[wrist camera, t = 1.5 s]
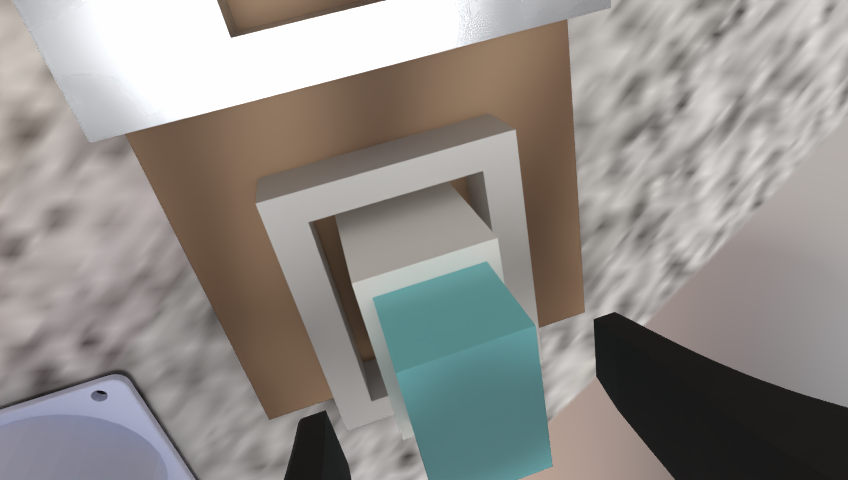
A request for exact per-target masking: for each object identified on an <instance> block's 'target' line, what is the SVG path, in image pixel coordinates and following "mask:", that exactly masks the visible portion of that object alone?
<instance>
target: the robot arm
mask: <svg viewBox="0 0 848 480" xmlns="http://www.w3.org/2000/svg"><path fill="white" fill-rule="evenodd" d="M594 336H595V357H596V376H597V378H598V380H599V381H600V383H601V384H602V386H603V388H604V389H605V391H606V392H607V394H608V396H609V397H610V399H611V400H612V402H613V403H614V405H615V406H616V408H617V409H618V411H619V412H620V413H621V414H622V416H623V417H624V418H625V419H626V421H627V422H628V423H629V424H630V425H631V427H632V428H633V429H634V430H635V432H636V433H637V434H638V435H639V436H640V438H641V439H642V440H643V441H644V442H645V444H646V445H647V446H648V447H649V449H650V450H651V451H652V452H653V453H654V455H655V456H656V457H657V458H658V459H659V461H660V462H661V463H662V464H663V466H664V467H665V468H666V469H667V470H668V472H669V473H670V474H671V475H672V476H673V478H674V479H675V480H848V408H847V407H843V406H840V405H836V404H833V403H830V402H826V401H823V400H820V399H816V398H812V397H809V396H806V395H803V394H800V393H797V392H794V391H791V390H788V389H784V388H782V387H779V386H776V385H774V384H771V383H768V382H765V381H762V380H760V379H757V378H754V377H752V376H749V375H746V374H744V373H741V372H739V371H737V370H734V369H732V368H730V367H727V366H725V365H722V364H720V363H718V362H715V361H713V360H711V359H709V358H707V357H704V356H702V355H700V354H698V353H695V352H694V351H691V350H689V349H687V348H685V347H683V346H681V345H679V344H677V343H675V342H673V341H671V340H669V339H667V338H665V337H663V336H661V335H659V334H657V333H655V332H653V331H651V330H649V329H647V328H645V327H643V326H641V325H640V324H638V323H636V322H634V321H632V320H630V319H628V318H626V317H624V316H622V315H620V314H618V313H616V312H613V313H610V314H607V315H605V316H602V317H599V318H596V319H594ZM97 390H101V391H104V392H106V393H107V394H99V393H97V392H96V391H97ZM0 480H196V479H195V478H194V476H193V475H192V473H191V472H190V470H189V469H188V467H187V466H186V464H185V463H184V461H183V460H182V458H181V457H180V455H179V454H178V452H177V451H176V449H175V448H174V446H173V445H172V443H171V442H170V440H169V439H168V437H167V436H166V434H165V433H164V431H163V430H162V428H161V427H160V425H159V423H158V422H157V420H156V419H155V417H154V416H153V414H152V413H151V411H150V410H149V408H148V407H147V405H146V404H145V402H144V401H143V399H142V398H141V396H140V395H139V393H138V392H137V390H136V389H135V387H134V386H133V384H132V383H131V381H130V380H129V379H128V378H127V377H125V376H123V375H119V374H113V375H108V376H105V377H102V378H99V379H95V380H92V381H89V382H86V383H83V384H80V385H77V386H73V387H70V388H67V389H64V390H61V391H58V392H54V393H51V394H48V395H45V396H42V397H39V398H36V399H32V400H29V401H26V402H23V403H20V404H17V405H13V406H10V407H7V408H4V409H1V410H0ZM284 480H351V475H350V470H349V465H348V462H347V460H346V458H345V455H344V453H343V451H342V448H341V446H340V443H339V441H338V439H337V436H336V434H335V432H334V429H333V427H332V424H331V422H330V420H329V417H328V415H327V413H326V410H325V411H322V412H319V413H316V414H314V415H311V416H308V417H305V418H302V419H301V420H300V421H299V423H298V427H297V432H296V436H295V441H294V445H293V449H292V453H291V457H290V460H289V464H288V467H287V471H286V474H285V477H284Z"/></svg>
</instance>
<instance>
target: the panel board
mask: <svg viewBox="0 0 848 480" xmlns="http://www.w3.org/2000/svg"><path fill="white" fill-rule="evenodd" d="M359 1H363V0H227V2H228V5H229V7H230V10H231V13H232V16H233V19H234V21H235V24H236V27H237V30H238V31H239V30H243V29H247V28H251V27H255V26H259V25H263V24H268V23H272V22H276V21H280V20H284V19H288V18H292V17H297V16H301V15H305V14H309V13H313V12H317V11H322V10H326V9H330V8H334V7H338V6H342V5H346V4H351V3H355V2H359ZM486 114H491V115H492V116H494V117H496V118H497V119H499V120H501V121H503V122H504V123H506V124H508V125H509V126H511V127H513V128H514V129H516V137H517V145H518V154H519V162H520V171H521V180H522V188H523V197H524V205H525V214H526V222H527V231H528V239H529V248H530V256H531V265H532V274H533V282H534V291H535V299H536V308H537V316H538V325H539V328H540V327H543V326H546V325H549V324H552V323H555V322H557V321H560V320H563V319H566V318H569V317H572V316H575V315H578V314H581V313H584V312H585V309H584V292H583V275H582V258H581V242H580V225H579V208H578V191H577V174H576V158H575V141H574V124H573V107H572V90H571V74H570V57H569V40H568V23H567V19H565V20H562V21H558V22H554V23H550V24H546V25H542V26H538V27H535V28H531V29H527V30H523V31H519V32H515V33H511V34H508V35H504V36H500V37H496V38H492V39H488V40H484V41H481V42H477V43H473V44H469V45H465V46H461V47H458V48H454V49H450V50H446V51H442V52H438V53H434V54H431V55H427V56H423V57H419V58H415V59H411V60H407V61H404V62H400V63H396V64H392V65H388V66H384V67H381V68H377V69H373V70H369V71H365V72H361V73H357V74H354V75H350V76H346V77H342V78H338V79H334V80H330V81H327V82H323V83H319V84H315V85H311V86H307V87H304V88H300V89H296V90H292V91H288V92H284V93H280V94H277V95H273V96H269V97H265V98H261V99H257V100H253V101H250V102H246V103H242V104H238V105H234V106H230V107H226V108H223V109H219V110H215V111H211V112H207V113H203V114H200V115H196V116H192V117H188V118H184V119H180V120H176V121H173V122H169V123H165V124H161V125H157V126H153V127H149V128H146V129H142V130H138V131H134V132H130V133H126V134H125V135H126V137H127V139H128V141H129V143H130V145H131V147H132V149H133V151H134V153H135V155H136V157H137V159H138V160H139V162H140V164H141V166H142V168H143V170H144V172H145V174H146V176H147V178H148V180H149V182H150V184H151V186H152V188H153V190H154V192H155V194H156V196H157V198H158V200H159V202H160V204H161V206H162V208H163V210H164V212H165V214H166V216H167V218H168V220H169V222H170V224H171V226H172V228H173V230H174V232H175V234H176V236H177V238H178V240H179V242H180V244H181V246H182V248H183V250H184V252H185V254H186V256H187V258H188V260H189V262H190V264H191V266H192V268H193V270H194V271H195V273H196V275H197V277H198V279H199V281H200V283H201V285H202V287H203V289H204V291H205V293H206V295H207V297H208V299H209V301H210V303H211V305H212V307H213V309H214V311H215V313H216V315H217V317H218V319H219V321H220V323H221V325H222V327H223V329H224V331H225V333H226V335H227V337H228V339H229V341H230V343H231V345H232V347H233V349H234V351H235V353H236V355H237V357H238V359H239V361H240V363H241V365H242V367H243V369H244V371H245V373H246V375H247V377H248V379H249V381H250V382H251V384H252V386H253V388H254V390H255V392H256V394H257V396H258V398H259V400H260V402H261V404H262V406H263V408H264V410H265V412H266V414H267V416H268V418H269V420H270V419H273V418H276V417H279V416H282V415H285V414H288V413H291V412H294V411H297V410H300V409H302V408H305V407H308V406H311V405H314V404H317V403H320V402H323V401H326V400H329V399H332V398H334V397H333V395H332V392H331V390H330V387H329V385H328V382H327V380H326V377H325V375H324V372H323V370H322V367H321V365H320V363H319V360H318V358H317V355H316V353H315V350H314V348H313V345H312V343H311V340H310V338H309V335H308V333H307V330H306V328H305V325H304V323H303V320H302V318H301V315H300V313H299V310H298V308H297V305H296V303H295V300H294V298H293V296H292V293H291V291H290V288H289V286H288V283H287V281H286V278H285V276H284V273H283V271H282V268H281V266H280V263H279V261H278V258H277V256H276V253H275V251H274V248H273V246H272V243H271V241H270V238H269V236H268V234H267V231H266V229H265V226H264V224H263V221H262V219H261V216H260V214H259V211H258V209H257V206H256V204H255V203H256V194H257V185H258V178H261V177H264V176H268V175H271V174H275V173H279V172H282V171H286V170H289V169H293V168H296V167H300V166H304V165H307V164H311V163H314V162H318V161H322V160H325V159H329V158H332V157H336V156H339V155H343V154H347V153H350V152H354V151H357V150H361V149H364V148H368V147H372V146H375V145H379V144H382V143H386V142H389V141H393V140H397V139H400V138H404V137H407V136H411V135H415V134H418V133H422V132H425V131H429V130H432V129H436V128H440V127H443V126H447V125H450V124H454V123H457V122H461V121H465V120H468V119H472V118H475V117H479V116H483V115H486ZM448 182H449V183H450V184H451V185H452V186H453V187H454V189H455V190H456V191H457V192H458V193H459V194H460V195H461V197H462V198H463V199H464V200H465V201H466V202H467V203H468V205H469V206H470V201H469V195H468V189H467V183H466V178H465V176H464V177H461V178H457V179H454V180H450V181H448ZM470 207H471V206H470ZM314 224H315V227H316V229H317V232H318V235H319V238H320V241H321V244H322V247H323V250H324V252H325V255H326V258H327V261H328V264H329V267H330V270H331V273H332V275H333V278H334V281H335V284H336V287H337V290H338V293H339V296H340V298H341V301H342V304H343V307H344V310H345V313H346V316H347V319H348V321H349V324H350V327H351V330H352V333H353V336H354V339H355V342H356V344H357V347H358V350H359V353H360V356H361V359H362V362H363V363H364V362H367V361H370V360H373V359H376V356H375V353H374V350H373V347H372V344H371V341H370V338H369V335H368V332H367V329H366V326H365V323H364V320H363V317H362V314H361V311H360V308H359V305H358V302H357V299H356V296H355V292H354V289H353V286H352V283H351V279H350V275H349V271H348V267H347V263H346V259H345V255H344V251H343V247H342V243H341V239H340V235H339V231H338V227H337V223H336V218H335V215H332V216H328V217H325V218H321V219H318V220H315V221H314Z"/></svg>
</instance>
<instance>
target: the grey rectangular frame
mask: <svg viewBox="0 0 848 480" xmlns="http://www.w3.org/2000/svg"><path fill="white" fill-rule="evenodd" d="M464 176H465V178H466V183H467V189H468V195H469V201H470V206H471V208H472V209H473V210H474V211H475V213H476V214H477V215H478V216H479V217H480V218H481V219H482V221H483V222H484V223H485V224H486V225H487V226H488V227H489V229H490V230H491V231H492V232H493V233H494V234H495V235H496V237H497V238H498V243H499V250H500V257H501V263H502V270H503V276H504V283H505V286H506V287H507V289H508V290H509V291H510V292H511V294H512V295H513V296H514V298H515V299H516V300H517V302H518V303H519V304H520V306H521V307H522V308H523V310H524V311H525V312H526V314H527V315H528V316H529V317H530V319H531V320H532V321H533V323H534V324H535V325H536V333H537V341H538V349H539V358H540V363H543V359H542V350H541V342H540V333H539V325H538V316H537V308H536V299H535V291H534V282H533V274H532V265H531V256H530V248H529V239H528V231H527V222H526V214H525V205H524V197H523V188H522V180H521V171H520V162H519V154H518V145H517V137H516V129H514V128H513V127H511V126H509V125H508V124H506V123H504V122H503V121H501V120H499V119H497V118H496V117H494V116H492V115H491V114H486V115H483V116H479V117H475V118H472V119H468V120H465V121H461V122H457V123H454V124H450V125H447V126H443V127H440V128H436V129H432V130H429V131H425V132H422V133H418V134H415V135H411V136H407V137H404V138H400V139H397V140H393V141H389V142H386V143H382V144H379V145H375V146H372V147H368V148H364V149H361V150H357V151H354V152H350V153H347V154H343V155H339V156H336V157H332V158H329V159H325V160H322V161H318V162H314V163H311V164H307V165H304V166H300V167H296V168H293V169H289V170H286V171H282V172H279V173H275V174H271V175H268V176H264V177H261V178H258V185H257V194H256V203H255V204H256V206H257V209H258V211H259V214H260V216H261V219H262V221H263V224H264V226H265V229H266V231H267V234H268V236H269V238H270V241H271V243H272V246H273V248H274V251H275V253H276V256H277V258H278V261H279V263H280V266H281V268H282V271H283V273H284V276H285V278H286V281H287V283H288V286H289V288H290V291H291V293H292V296H293V298H294V300H295V303H296V305H297V308H298V310H299V313H300V315H301V318H302V320H303V323H304V325H305V328H306V330H307V333H308V335H309V338H310V340H311V343H312V345H313V348H314V350H315V353H316V355H317V358H318V360H319V363H320V365H321V367H322V370H323V372H324V375H325V377H326V380H327V382H328V385H329V387H330V390H331V392H332V395H333V397H334V400H335V402H336V405H337V407H338V410H339V412H340V415H341V417H342V420H343V422H344V425H345V427H346V429H347V431H349V430H352V429H355V428H358V427H361V426H364V425H367V424H369V423H372V422H375V421H378V420H381V419H384V418H386V417H389V416H392V415H395V414H394V411H393V408H392V405H391V402H390V399H389V396H388V393H387V390H386V387H385V384H384V381H383V378H382V375H381V372H380V368H379V365H378V362H377V359H373V360H370V361H367V362H364V363H363V362H362V359H361V356H360V353H359V350H358V347H357V344H356V342H355V339H354V336H353V333H352V330H351V327H350V324H349V321H348V319H347V316H346V313H345V310H344V307H343V304H342V301H341V298H340V296H339V293H338V290H337V287H336V284H335V281H334V278H333V275H332V273H331V270H330V267H329V264H328V261H327V258H326V255H325V252H324V250H323V247H322V244H321V241H320V238H319V235H318V232H317V229H316V227H315V224H314V221H315V220H318V219H321V218H325V217H328V216H332V215H335V214H338V213H342V212H345V211H349V210H352V209H355V208H359V207H362V206H366V205H369V204H372V203H376V202H379V201H383V200H386V199H389V198H393V197H396V196H400V195H403V194H406V193H410V192H413V191H417V190H420V189H423V188H427V187H430V186H433V185H437V184H440V183H444V182H447V181H450V180H454V179H457V178H461V177H464Z"/></svg>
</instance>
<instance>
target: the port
mask: <svg viewBox="0 0 848 480" xmlns="http://www.w3.org/2000/svg"><path fill="white" fill-rule="evenodd" d="M12 1H13V3H14V5H15V7H16V9H17V10H18V12H19V14H20V16H21V18H22V20H23V21H24V23H25V25H26V27H27V29H28V31H29V32H30V34H31V36H32V38H33V40H34V42H35V44H36V45H37V47H38V49H39V51H40V53H41V55H42V56H43V58H44V60H45V62H46V64H47V66H48V67H49V69H50V71H51V73H52V75H53V77H54V78H55V80H56V82H57V84H58V86H59V88H60V89H61V91H62V93H63V95H64V97H65V99H66V100H67V102H68V104H69V106H70V108H71V110H72V111H73V113H74V115H75V117H76V119H77V121H78V122H79V124H80V126H81V128H82V130H83V132H84V134H85V135H86V137H87V139H88V141H89V143H92V142H96V141H99V140H103V139H107V138H111V137H115V136H119V135H123V134H126V133H130V132H134V131H138V130H142V129H146V128H149V127H153V126H157V125H161V124H165V123H169V122H173V121H176V120H180V119H184V118H188V117H192V116H196V115H200V114H203V113H207V112H211V111H215V110H219V109H223V108H226V107H230V106H234V105H238V104H242V103H246V102H250V101H253V100H257V99H261V98H265V97H269V96H273V95H277V94H280V93H284V92H288V91H292V90H296V89H300V88H304V87H307V86H311V85H315V84H319V83H323V82H327V81H330V80H334V79H338V78H342V77H346V76H350V75H354V74H357V73H361V72H365V71H369V70H373V69H377V68H381V67H384V66H388V65H392V64H396V63H400V62H404V61H407V60H411V59H415V58H419V57H423V56H427V55H431V54H434V53H438V52H442V51H446V50H450V49H454V48H458V47H461V46H465V45H469V44H473V43H477V42H481V41H484V40H488V39H492V38H496V37H500V36H504V35H508V34H511V33H515V32H519V31H523V30H527V29H531V28H535V27H538V26H542V25H546V24H550V23H554V22H558V21H562V20H565V19H569V18H573V17H577V16H581V15H585V14H588V13H592V12H596V11H600V10H604V9H608V8H611V0H363V1H359V2H355V3H351V4H346V5H342V6H338V7H334V8H330V9H326V10H322V11H317V12H313V13H309V14H305V15H301V16H297V17H292V18H288V19H284V20H280V21H276V22H272V23H268V24H263V25H259V26H255V27H251V28H247V29H243V30H239V31H238V30H237V27H236V24H235V21H234V19H233V16H232V13H231V10H230V7H229V5H228V2H227V0H12Z"/></svg>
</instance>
